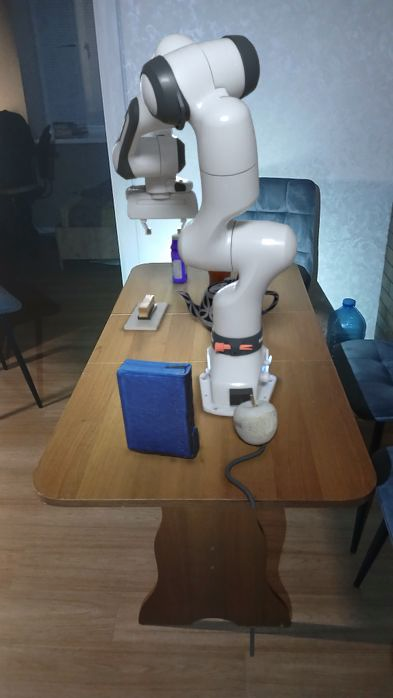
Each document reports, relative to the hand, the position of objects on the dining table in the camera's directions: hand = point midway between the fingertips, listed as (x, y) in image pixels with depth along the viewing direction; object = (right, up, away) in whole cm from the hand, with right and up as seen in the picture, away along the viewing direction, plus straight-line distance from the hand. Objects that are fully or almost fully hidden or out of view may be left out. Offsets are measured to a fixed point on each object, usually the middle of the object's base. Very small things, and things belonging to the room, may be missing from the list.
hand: (164, 234), depth 146 cm
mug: (+19, -14, +30) cm, 38 cm away
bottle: (+3, -8, +44) cm, 45 cm away
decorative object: (+21, -52, -43) cm, 71 cm away
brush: (-6, -22, +15) cm, 27 cm away
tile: (-6, -23, +15) cm, 28 cm away
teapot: (+19, -26, +6) cm, 33 cm away
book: (+3, -54, -45) cm, 70 cm away
